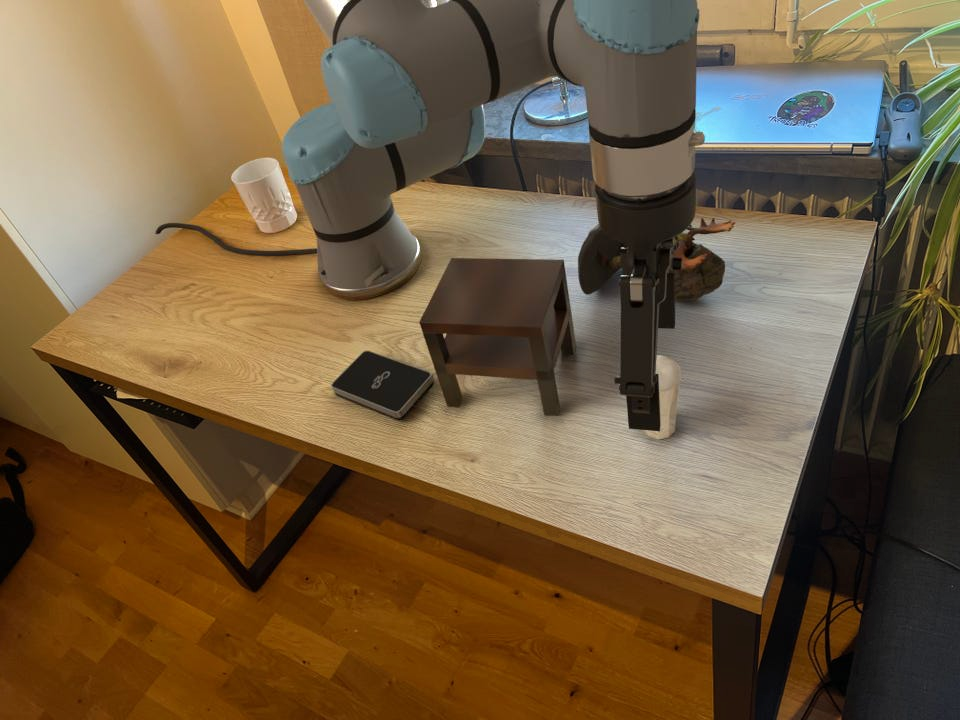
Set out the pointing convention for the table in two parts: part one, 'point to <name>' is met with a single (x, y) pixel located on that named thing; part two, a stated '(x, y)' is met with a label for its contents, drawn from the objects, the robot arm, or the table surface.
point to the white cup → (265, 194)
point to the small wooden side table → (500, 323)
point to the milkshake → (667, 396)
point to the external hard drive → (383, 384)
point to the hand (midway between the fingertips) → (653, 373)
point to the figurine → (691, 281)
